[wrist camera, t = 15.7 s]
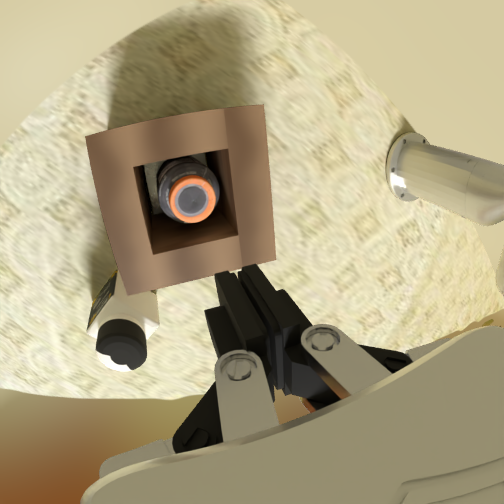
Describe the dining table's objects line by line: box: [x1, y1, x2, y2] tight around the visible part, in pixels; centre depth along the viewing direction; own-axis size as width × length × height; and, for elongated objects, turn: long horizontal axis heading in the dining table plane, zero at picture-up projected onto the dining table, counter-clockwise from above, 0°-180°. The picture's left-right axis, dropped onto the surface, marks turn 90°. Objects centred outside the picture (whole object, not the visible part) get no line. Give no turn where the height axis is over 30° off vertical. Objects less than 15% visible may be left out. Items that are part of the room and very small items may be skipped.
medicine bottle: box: [87, 270, 160, 371], centre depth 34 cm, size 7×7×12 cm
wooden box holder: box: [85, 104, 276, 296], centre depth 30 cm, size 15×15×12 cm
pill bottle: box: [156, 155, 220, 223], centre depth 29 cm, size 6×6×11 cm
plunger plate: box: [144, 152, 206, 214], centre depth 34 cm, size 7×7×1 cm
